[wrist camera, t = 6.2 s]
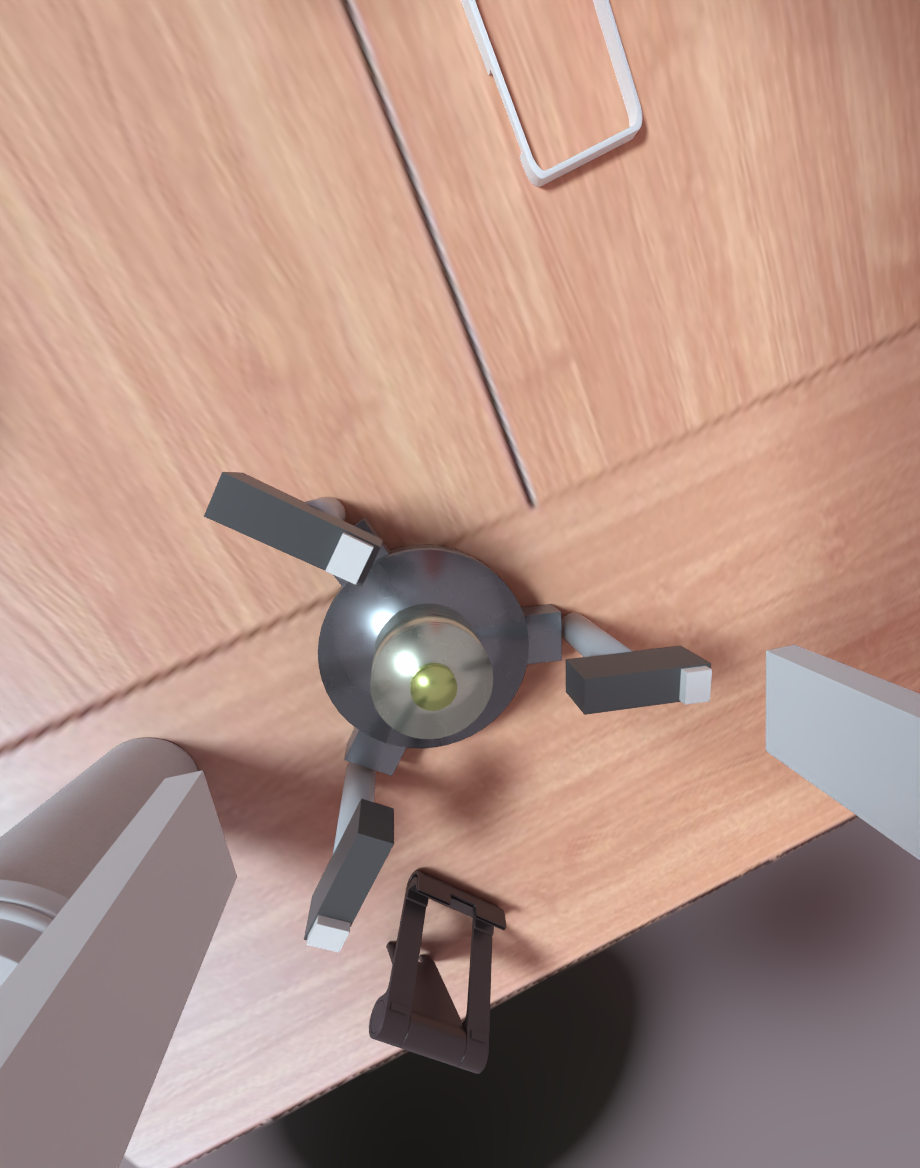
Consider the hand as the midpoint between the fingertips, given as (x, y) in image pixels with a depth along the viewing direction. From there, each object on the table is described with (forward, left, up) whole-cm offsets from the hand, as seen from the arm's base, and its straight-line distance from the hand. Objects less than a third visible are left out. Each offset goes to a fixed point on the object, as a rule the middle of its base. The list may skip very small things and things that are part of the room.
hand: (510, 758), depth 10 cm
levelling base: (+5, 0, -22) cm, 22 cm away
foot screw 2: (+15, -6, -22) cm, 27 cm away
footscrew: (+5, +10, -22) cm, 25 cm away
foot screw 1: (-4, -6, -22) cm, 23 cm away
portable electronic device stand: (+30, -2, -22) cm, 37 cm away
